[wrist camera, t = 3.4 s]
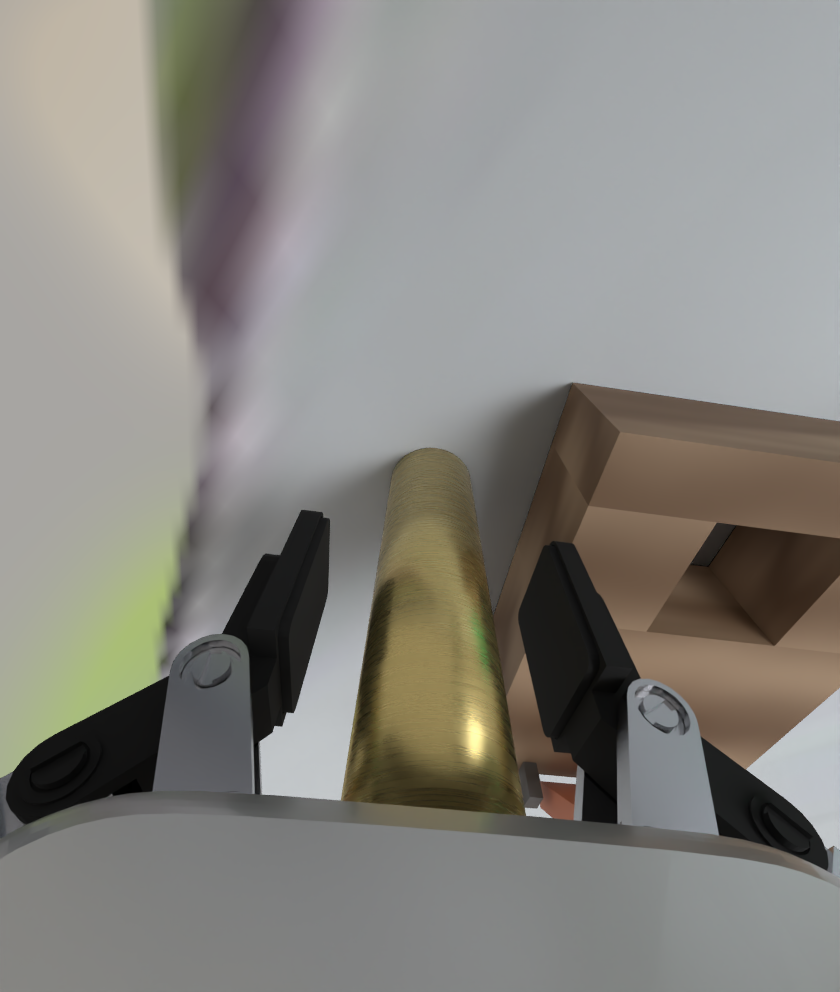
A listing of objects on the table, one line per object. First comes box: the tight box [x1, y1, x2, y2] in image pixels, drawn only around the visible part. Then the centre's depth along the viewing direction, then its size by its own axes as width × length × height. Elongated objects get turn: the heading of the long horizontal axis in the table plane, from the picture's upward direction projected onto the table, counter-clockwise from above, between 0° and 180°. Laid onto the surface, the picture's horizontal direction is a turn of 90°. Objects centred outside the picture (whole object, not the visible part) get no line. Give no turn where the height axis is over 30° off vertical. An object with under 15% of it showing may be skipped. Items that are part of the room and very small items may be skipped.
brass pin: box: [341, 448, 526, 816], centre depth 11 cm, size 3×3×12 cm
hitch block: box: [493, 383, 840, 808], centre depth 16 cm, size 17×12×5 cm
